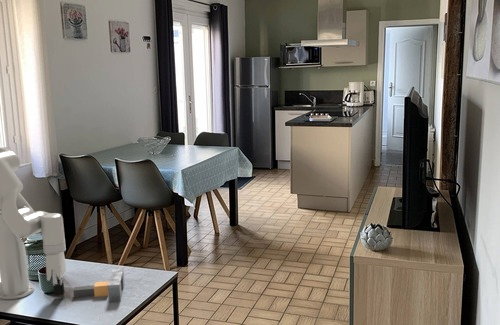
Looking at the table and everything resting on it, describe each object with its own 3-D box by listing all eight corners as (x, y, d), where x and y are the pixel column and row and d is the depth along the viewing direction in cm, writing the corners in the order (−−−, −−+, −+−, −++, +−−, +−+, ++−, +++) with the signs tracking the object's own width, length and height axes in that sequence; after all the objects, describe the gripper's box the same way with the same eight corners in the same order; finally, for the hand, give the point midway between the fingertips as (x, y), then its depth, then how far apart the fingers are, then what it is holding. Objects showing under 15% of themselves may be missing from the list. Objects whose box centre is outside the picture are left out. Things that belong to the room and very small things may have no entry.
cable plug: (73, 298, 186) (72, 288, 185) (75, 293, 189) (74, 283, 189) (108, 295, 187) (107, 285, 187) (109, 290, 191) (108, 281, 190)
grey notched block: (109, 302, 182) (107, 285, 180) (114, 284, 197) (112, 268, 196) (120, 301, 182) (119, 284, 181) (124, 283, 198) (123, 267, 197)
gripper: (48, 241, 190) (53, 286, 193) (38, 255, 175) (44, 304, 179) (69, 239, 191) (74, 285, 194) (60, 253, 176) (66, 302, 180)
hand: (59, 294), depth 186 cm, fingers closed
